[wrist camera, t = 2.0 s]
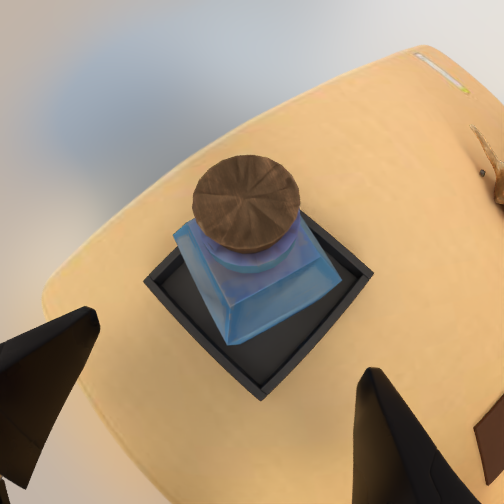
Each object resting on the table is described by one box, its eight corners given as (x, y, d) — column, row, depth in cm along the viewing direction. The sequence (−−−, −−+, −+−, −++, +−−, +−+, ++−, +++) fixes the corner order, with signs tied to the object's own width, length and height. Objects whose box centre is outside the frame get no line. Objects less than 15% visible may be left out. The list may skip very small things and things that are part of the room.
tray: (261, 396, 18) (260, 402, 16) (153, 286, 20) (142, 281, 18) (365, 279, 20) (374, 272, 18) (255, 187, 22) (254, 173, 21)
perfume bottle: (319, 299, 19) (389, 236, 8) (239, 344, 18) (196, 347, 7) (274, 226, 21) (280, 101, 9) (199, 266, 20) (123, 173, 9)
